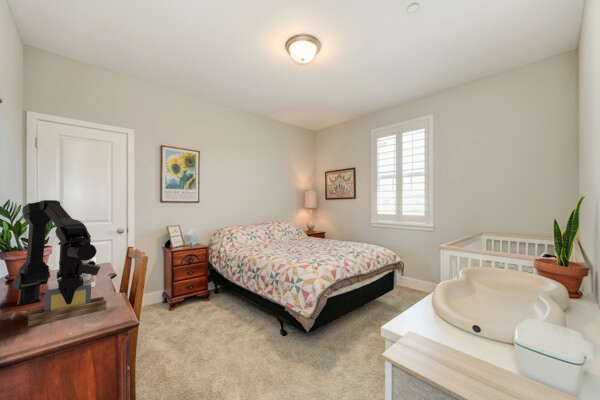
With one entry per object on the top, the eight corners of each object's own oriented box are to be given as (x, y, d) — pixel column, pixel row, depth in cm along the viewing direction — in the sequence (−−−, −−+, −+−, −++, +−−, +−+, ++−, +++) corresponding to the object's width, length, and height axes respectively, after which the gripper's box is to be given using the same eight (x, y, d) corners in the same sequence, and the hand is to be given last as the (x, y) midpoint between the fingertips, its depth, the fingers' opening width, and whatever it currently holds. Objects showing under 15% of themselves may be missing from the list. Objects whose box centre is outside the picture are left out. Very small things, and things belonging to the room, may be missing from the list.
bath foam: (74, 290, 114) (76, 246, 114) (77, 286, 119) (79, 244, 120) (94, 288, 117) (96, 245, 118) (96, 284, 123) (97, 243, 124)
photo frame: (44, 316, 84) (45, 292, 84) (44, 313, 86) (45, 290, 86) (90, 306, 92) (91, 284, 93) (89, 304, 95) (90, 283, 95)
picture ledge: (28, 326, 79) (28, 317, 80) (29, 318, 85) (29, 309, 85) (106, 309, 94) (106, 301, 94) (102, 303, 99) (103, 295, 99)
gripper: (102, 258, 89) (100, 302, 89) (95, 251, 102) (93, 290, 102) (59, 263, 81) (57, 311, 81) (57, 255, 94) (55, 296, 94)
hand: (68, 301), depth 89 cm, fingers open, 7 cm apart
